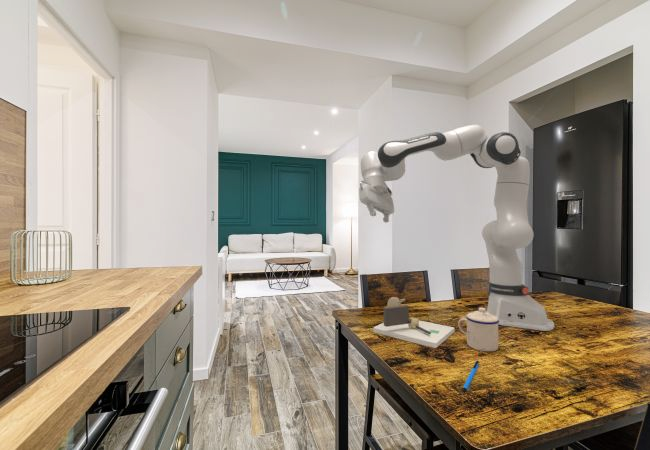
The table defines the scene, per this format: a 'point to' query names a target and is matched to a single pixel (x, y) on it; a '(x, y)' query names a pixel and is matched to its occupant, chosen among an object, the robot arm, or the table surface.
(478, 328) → the teacup with lid
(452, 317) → the table surface
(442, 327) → the white rectangular slab
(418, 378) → the table surface
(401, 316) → the tuning peg
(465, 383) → the pen
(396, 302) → the decorative ornament
